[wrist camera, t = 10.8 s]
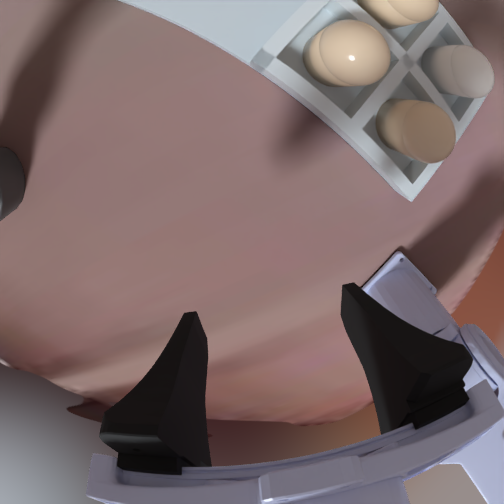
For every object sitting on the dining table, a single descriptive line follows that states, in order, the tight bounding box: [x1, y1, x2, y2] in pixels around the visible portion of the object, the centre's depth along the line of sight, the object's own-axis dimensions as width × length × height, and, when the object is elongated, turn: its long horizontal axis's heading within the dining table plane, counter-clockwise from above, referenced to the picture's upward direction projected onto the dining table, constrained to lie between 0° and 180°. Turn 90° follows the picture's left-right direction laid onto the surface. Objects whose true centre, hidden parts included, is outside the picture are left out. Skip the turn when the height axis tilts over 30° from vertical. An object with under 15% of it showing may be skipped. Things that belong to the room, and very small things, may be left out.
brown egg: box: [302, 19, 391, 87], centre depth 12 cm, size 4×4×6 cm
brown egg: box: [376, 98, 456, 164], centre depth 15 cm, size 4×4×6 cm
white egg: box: [421, 45, 495, 98], centre depth 12 cm, size 4×4×6 cm
